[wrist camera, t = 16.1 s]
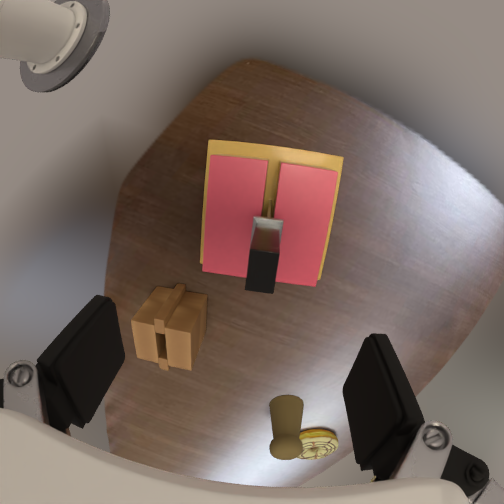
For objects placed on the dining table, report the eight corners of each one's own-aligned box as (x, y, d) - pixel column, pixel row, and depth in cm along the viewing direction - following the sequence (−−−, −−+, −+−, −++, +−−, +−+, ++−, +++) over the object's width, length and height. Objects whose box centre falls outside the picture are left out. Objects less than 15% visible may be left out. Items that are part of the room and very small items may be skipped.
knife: (256, 226, 32) (239, 295, 18) (260, 196, 31) (245, 241, 16) (277, 229, 32) (276, 300, 18) (281, 198, 31) (286, 247, 16)
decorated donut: (290, 451, 50) (290, 464, 47) (284, 429, 47) (284, 444, 43) (336, 445, 49) (337, 459, 45) (337, 422, 45) (339, 437, 42)
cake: (200, 262, 35) (188, 281, 30) (209, 139, 29) (196, 138, 24) (319, 278, 34) (325, 300, 29) (342, 157, 29) (355, 159, 24)
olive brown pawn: (299, 392, 42) (302, 445, 32) (306, 411, 44) (309, 460, 34) (265, 398, 43) (261, 450, 33) (274, 416, 45) (272, 465, 35)
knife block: (159, 326, 39) (138, 363, 31) (156, 279, 36) (129, 312, 29) (206, 335, 39) (191, 376, 31) (207, 287, 36) (190, 325, 28)
